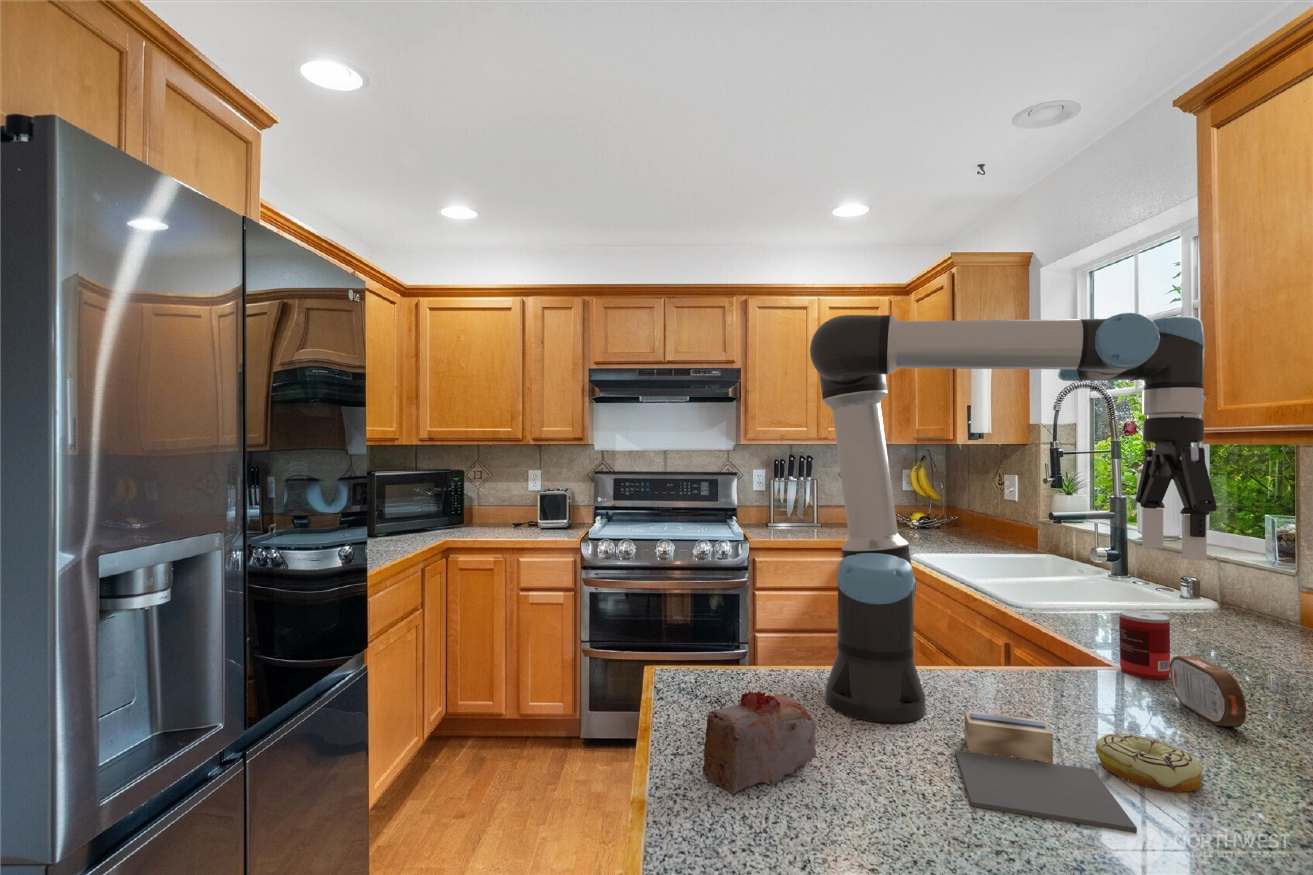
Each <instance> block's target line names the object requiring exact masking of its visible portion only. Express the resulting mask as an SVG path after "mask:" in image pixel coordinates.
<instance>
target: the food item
mask: <svg viewBox="0 0 1313 875" xmlns="http://www.w3.org/2000/svg"><path fill="white" fill-rule="evenodd" d="M707 714H708V715H707V719H706V729H705V735H704V736H705V740H704V745H703V748H704V749H703V750H704V751H703V758H704V761H703V762H704V763H703V766H702V775H704V777H705V778H707V779H708V780H709V781H710V782H711V783H714V784H715V785H717V786H719V787H721V788H723V789H724V790H725V791H727V792H728V793H729V794H732V795H735V794H736V793H737V792H740V791H742V790H743V789H745V788H751V787H752V786H753V787H754V785H758V784H760V783H765V784H768V785H776V784H777V785H778V783H779V782H780V781H782V780H783V779H784V776H788V775H791V774H792V773H793V772H794V771H795V770H801V769H805V767H806V766H807V764H808V763H812V762H813V759H814V757H815V756H816V754H817V750H816V746H817V740H816V730H817V723H816V719H814V718H813V717H812V715H811V714H809V713H808V711H807V709H806V707H804V705H803V704H802V703H801V702H799V700H797V699H796V698H794V697H792V696H789V695H786V694H780V693H777V694H775V695H769V694H766V692H765V691H764V692H760V691H755V692H752V691H751V690H749V691H748V692H744V693H742V694H741V696H740V703H739V704H734V705H732V706H726V707H723V708H719V709H712V710H711V711H709V712H708V713H707Z"/></svg>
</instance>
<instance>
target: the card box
mask: <svg viewBox="0 0 1313 875" xmlns="http://www.w3.org/2000/svg"><path fill="white" fill-rule="evenodd" d="M964 739H965V744H966V746H967V749H968V752H972V753H979V754H987V753H991V754H990V755H994V754H998V755H997V756H1001V755H1003V756H1002V757H1008V756H1013V757H1012V758H1015V757H1016V758H1015V759H1022V758H1023V759H1022V760H1029V759H1030V761H1036V760H1040V761H1039V762H1043V761H1045V762H1044V763H1052V764H1054V740H1053V739H1054V733H1053V731H1052V730H1051V729H1050V727H1049V725H1048V724H1047V722H1046V721H1045V720H1041V719H1040V720H1039V719H1034V718H1032V719H1031V718H1024V717H1017V716H1009V715H1008V716H1007V715H1000V714H993V713H985V712H977V711H976V712H975V711H969V710H968V711H967V710H964ZM1017 757H1018V758H1017ZM1046 761H1047V762H1046Z"/></svg>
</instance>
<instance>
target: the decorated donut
mask: <svg viewBox="0 0 1313 875" xmlns="http://www.w3.org/2000/svg"><path fill="white" fill-rule="evenodd" d="M1095 754H1097V757H1098V759H1099V761H1100V763H1101V764H1102V765H1103V766H1104V768H1105V769H1106V768H1107V769H1108V770H1107V769H1106V770H1107V771H1108V772H1110V771H1111V772H1110V773H1112V774H1113V773H1114V774H1113V775H1115V776H1118V777H1119V778H1120V777H1122V778H1124V779H1125V780H1124V779H1123V780H1124V781H1126V780H1129V781H1131V782H1130V783H1132V782H1133V783H1132V784H1134V783H1136V784H1135V785H1138V784H1139V786H1144V787H1147V788H1150V787H1151V788H1152V789H1154V788H1155V789H1158V790H1161V791H1168V792H1170V793H1171V792H1172V793H1180V792H1181V793H1188V792H1191V791H1198V790H1199V789H1200V788H1201V785H1202V779H1203V778H1202V772H1203V771H1204V766H1203V765H1202V764H1201V762H1199V760H1197V759H1196V758H1195V757H1194V756H1192V755H1191V754H1189V753H1188V752H1186V751H1184V750H1183V749H1182V748H1180V747H1178V746H1174V745H1172V744H1169V743H1165V742H1163V741H1160V740H1158V739H1154V738H1151V737H1147V736H1144V735H1137V734H1131V733H1117V732H1116V733H1108V734H1105V735H1103V736H1101V737H1100V738H1097V740H1096V745H1095ZM1122 778H1121V779H1122ZM1129 781H1128V782H1129Z"/></svg>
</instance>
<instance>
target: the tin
mask: <svg viewBox="0 0 1313 875" xmlns="http://www.w3.org/2000/svg"><path fill="white" fill-rule="evenodd" d="M1170 679H1171V688H1172V690H1173V692H1174V695H1175V697H1176V698H1177V700H1178V701H1179V702H1180V704H1181V705H1182V706H1184V707H1185V708H1186V709H1188V710H1189V711H1192V712H1193V713H1195V714H1196V715H1198V716H1199V717H1201V718H1203V719H1204V720H1205V721H1206V722H1208V723H1210V724H1212V725H1214V726H1217V727H1230V728H1240V727H1241V726H1243V725H1244V724H1245V721H1246V718H1247V704H1246V699H1245V696H1244V693H1243V690H1242V688H1241V686H1240V684H1239V682H1238V681H1237V680H1236V678H1235V677H1234V676H1233V674H1232V673H1231V672H1229V671H1228V670H1226V669H1225V668H1222V667H1220V666H1218V665H1216V664H1214V663H1211V662H1210V661H1208V660H1205V659H1203V657H1200V656H1197V655H1193V654H1192V655H1177V656H1174V657H1173V658H1172V659H1171V660H1170Z"/></svg>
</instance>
